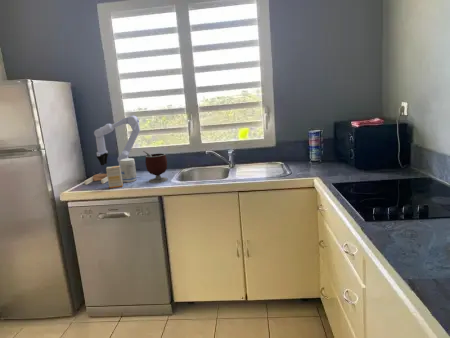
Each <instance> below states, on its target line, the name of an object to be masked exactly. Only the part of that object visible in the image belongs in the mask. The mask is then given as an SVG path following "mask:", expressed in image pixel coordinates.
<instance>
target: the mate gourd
mask: <svg viewBox="0 0 450 338" xmlns="http://www.w3.org/2000/svg"><path fill="white" fill-rule="evenodd" d="M142 152H143V153H145V154H146V155H145V167H146V171H147V172H148V173H149V174H150V175H154V176H155V177H154V178H150V179H149V180H148V182H149V183H152V184H153V183H154V184H157V183H164V182H166V181H168V180H169V178H167V177H166V176H165V177H164V176H161V175H163V174H165V173H166V171H167V169H168V159H167V155H166V153H163V152H162V153H161V152H159V153H158V152H157V153H150V152H148V151H146V150H143V151H142Z"/></svg>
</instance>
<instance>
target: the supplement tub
mask: <svg viewBox="0 0 450 338" xmlns="http://www.w3.org/2000/svg"><path fill="white" fill-rule="evenodd" d="M120 166H121V174H122V181H123V183H131V182H135V181H137V178H138V177H137V169H136V168H137V167H136V162H135V158H132V157H131V158H130V157H129V158H127V159H122V160H120Z"/></svg>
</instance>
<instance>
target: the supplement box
mask: <svg viewBox="0 0 450 338" xmlns="http://www.w3.org/2000/svg"><path fill="white" fill-rule="evenodd" d="M105 171H106V174H107V177H108V181H107V182H108V188H109V189H113V188H123V186H124V182H123V181H122V174H121V168H120V166H119V165H113V166H106V168H105Z"/></svg>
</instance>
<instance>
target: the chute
mask: <svg viewBox="0 0 450 338" xmlns="http://www.w3.org/2000/svg"><path fill="white" fill-rule="evenodd" d="M92 182H95V181H94V180H93V176H91V177H89V178H87V179H86V180H84V185H88V184H90V183H92ZM100 182H101V184H102V185H103V184H105V183H107V182H108V177H105V178H104V179H102V180H100Z"/></svg>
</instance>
